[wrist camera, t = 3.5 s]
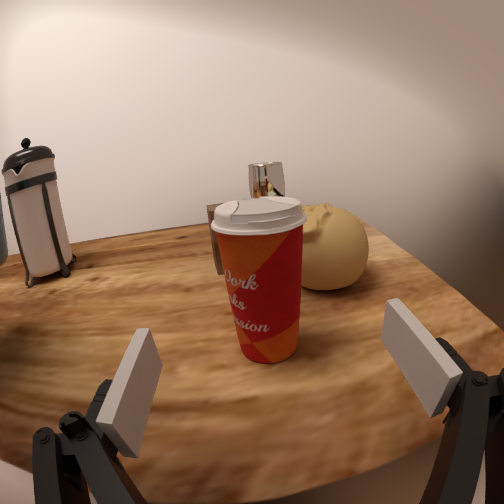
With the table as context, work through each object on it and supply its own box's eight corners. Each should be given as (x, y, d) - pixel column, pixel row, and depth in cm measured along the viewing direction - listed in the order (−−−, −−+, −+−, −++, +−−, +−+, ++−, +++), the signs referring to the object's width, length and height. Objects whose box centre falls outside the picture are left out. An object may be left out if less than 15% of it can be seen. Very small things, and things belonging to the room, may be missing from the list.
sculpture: (288, 262, 46) (284, 196, 42) (362, 264, 43) (364, 196, 39) (274, 299, 36) (268, 215, 32) (369, 301, 32) (375, 215, 29)
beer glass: (257, 231, 63) (251, 163, 58) (289, 231, 62) (284, 161, 56) (251, 242, 57) (243, 166, 51) (286, 242, 55) (281, 163, 50)
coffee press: (97, 261, 55) (72, 123, 44) (38, 294, 42) (4, 135, 31) (62, 255, 62) (41, 142, 51) (14, 280, 49) (-13, 155, 38)
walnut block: (218, 274, 44) (209, 211, 41) (214, 262, 49) (206, 205, 45) (249, 269, 45) (243, 206, 41) (243, 258, 50) (237, 201, 46)
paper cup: (224, 332, 30) (204, 203, 25) (291, 316, 32) (285, 191, 27) (240, 381, 23) (215, 223, 18) (321, 359, 24) (325, 207, 20)
